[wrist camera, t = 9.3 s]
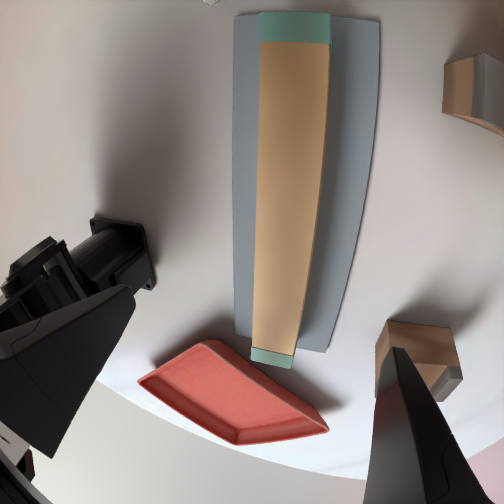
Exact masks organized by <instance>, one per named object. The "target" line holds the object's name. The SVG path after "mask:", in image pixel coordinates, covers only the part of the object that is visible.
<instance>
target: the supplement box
mask: <svg viewBox="0 0 504 504" xmlns="http://www.w3.org/2000/svg"><path fill="white" fill-rule="evenodd" d="M203 1H204V2H206V3H208V4H210V5H213V4H214V3H216V2H217V1H219V0H203Z"/></svg>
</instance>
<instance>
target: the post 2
mask: <svg viewBox="0 0 504 504" xmlns="http://www.w3.org/2000/svg"><path fill="white" fill-rule="evenodd" d="M442 113H445V114H448V115H451V116H454V117H457V118H459V119H462V120H465V121H468V122H470V123H473V124H475V125H478V126H480V127H483V128H485V129H488V130H490V131H492V132H495V133H497V134H499V135H501V136H504V63H503V62H501V61H500V60H498V59H496V58H494V57H492V56H490V55H488V54H486V53H483V54H479V55H476V56H472V57H468V58H465V59H462V60H458V61H455V62H452V63H449V64H446V65H444V92H443V106H442Z"/></svg>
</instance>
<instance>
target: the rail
mask: <svg viewBox="0 0 504 504" xmlns="http://www.w3.org/2000/svg"><path fill="white" fill-rule="evenodd" d="M259 42H261V44H260V85H259V125H258V162H257V198H256V233H255V266H254V299H253V330H252V346H251V360H252V361H256V362H261V363H265V364H269V365H273V366H278V367H282V368H287V369H291V366H292V362H293V358H294V354H295V350H296V347H297V343H298V338H299V333H300V328H301V327H300V325H301V320H302V315H303V309H304V304H305V298H306V293H307V287H308V281H309V275H310V269H311V262H312V256H313V249H314V243H315V236H316V229H317V221H318V214H319V206H320V197H321V189H322V180H323V170H324V160H325V150H326V138H327V125H328V111H329V94H330V72H331V56H332V24H331V17H330V14H329V13H316V12H260V27H259Z"/></svg>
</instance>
